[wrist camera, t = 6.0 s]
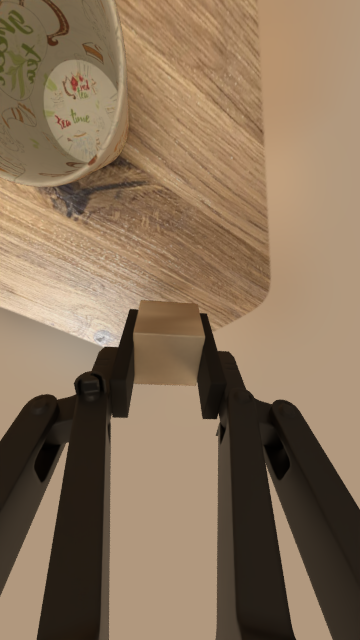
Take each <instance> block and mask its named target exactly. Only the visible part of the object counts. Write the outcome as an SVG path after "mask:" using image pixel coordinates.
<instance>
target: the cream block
mask: <svg viewBox="0 0 360 640" xmlns="http://www.w3.org/2000/svg"><path fill="white" fill-rule="evenodd" d="M204 341H205V334H204V330H203V325H202V321H201V317H200V313H199V308H198V304H193V303H177V302H162V301H147V300H141V302H140V306H139V310H138V314H137V319H136V323H135V327H134V332H133V342H134V373H135V377H134V383H135V384H155V385H186V386H187V385H188V386H196V383H197V376H198V371H199V365H200V360H201V355H202V349H203V345H204Z"/></svg>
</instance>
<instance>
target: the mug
mask: <svg viewBox="0 0 360 640" xmlns="http://www.w3.org/2000/svg"><path fill="white" fill-rule="evenodd" d="M128 129H129V113H128V85H127V64H126V53H125V46H124V40H123V33H122V28H121V24H120V19H119V15H118V11H117V7H116V3H115V0H0V178H3V179H5V180H8V181H11V182H14V183H17V184H22V185H26V186H34V187H53V186H60V185H65V184H68V183H71V182H74V181H77V180H79V179H81V178H83V177H85V176H87V175H89V174H91V173H93V172H95V171H96V170H98V169H100V168H102V167H104V166H106V165H108V164H110V163H111V162H112V161H114V160H115V159H116V158H117V157H118V156H119V154H120V153H121V151H122V150H123V148H124V145H125V143H126V140H127V135H128Z"/></svg>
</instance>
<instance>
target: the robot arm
mask: <svg viewBox="0 0 360 640" xmlns="http://www.w3.org/2000/svg"><path fill="white" fill-rule="evenodd" d="M137 314H138V310H136V309H130V310H129V314H128V317H127V320H126V324H125V327H124V330H123V334H122V337H121V341H120V344H119V347H104V348H103V349H102V350H101V351H100V352H99V354H98V356H97V359H96V361H95V364H94V366H93V369H92V371H89V372H85V373H83V374H82V375H80V376H79V377H78V378H77V379H76V380H75V382H74V386H75V390H76V395H74V396H71V397H68V398H63V399H58V400H57V399H56V398H55V397H54V396H53V395H49V394H46V395H40V396H37V397H35V398H33V399H31V400H30V401H29V402H28V403H27V404H26V405H25V406H24V407H23V409H22V410H21V412H20V413H19V415H18V416H17V418H16V419H15V421H14V422H13V423H12V425H11V426H10V428H9V429H8V431H7V432H6V434H5V435H4V436H3V438H2V439H1V441H0V595H1V593H2V591H3V588H4V586H5V584H6V581H7V579H8V577H9V574H10V572H11V570H12V567H13V565H14V563H15V561H16V558H17V556H18V553H19V551H20V549H21V547H22V544H23V542H24V540H25V537H26V535H27V533H28V530H29V528H30V526H31V523H32V521H33V519H34V516H35V514H36V512H37V509H38V507H39V505H40V502H41V500H42V497H43V495H44V493H45V491H46V488H47V486H48V484H49V481H50V479H51V477H52V475H53V472H54V470H55V467H56V465H57V463H58V461H59V458H60V456H61V453H62V451H63V449H64V447H65V444H66V443H67V442H69V446H68V452H67V458H66V465H65V470H64V477H63V483H62V489H61V495H60V501H59V507H58V513H57V519H56V525H55V531H54V537H53V543H52V549H51V556H50V562H49V568H48V574H47V580H46V586H45V592H44V598H43V604H42V611H41V616H40V622H39V628H38V635H37V640H109V557H110V556H109V555H110V554H109V553H110V454H111V453H110V452H111V423H110V419H111V415H113V417H119V418H120V417H121V418H127V417H128V413H129V407H130V400H131V395H132V389H133V383H134V377H135V373H134V342H133V332H134V327H135V323H136V319H137ZM200 317H201V321H202V325H203V330H204V334H205V341H204V345H203V349H202V355H201V360H200V365H199V371H198V376H197V383H198V389H199V396H200V403H201V410H202V417H203V419H217V416H218V413H219V417H220V423H219V426H218V430H217V433H216V436H218V542H217V545H218V546H217V550H218V551H217V631H216V640H296V638H295V636H294V633H293V629H292V624H291V619H290V613H289V607H288V601H287V595H286V588H285V582H284V576H283V570H282V564H281V557H280V551H279V545H278V539H277V532H276V526H275V520H274V514H273V508H272V501H271V495H270V489H269V483H268V477H267V471H266V465H267V468H268V471H269V473H270V476H271V478H272V481H273V484H274V486H275V489H276V492H277V494H278V497H279V500H280V502H281V505H282V508H283V510H284V512H285V515H286V518H287V521H288V523H289V526H290V529H291V531H292V534H293V536H294V539H295V542H296V544H297V547H298V549H299V552H300V555H301V557H302V560H303V563H304V565H305V568H306V571H307V573H308V576H309V578H310V581H311V584H312V586H313V589H314V591H315V594H316V597H317V600H318V602H319V605H320V607H321V610H322V613H323V615H324V618H325V621H326V623H327V626H328V628H329V631H330V634H331V636H332V639H333V640H360V509H359V508H358V506H357V504H356V503H355V501H354V499H353V498H352V496H351V494H350V493H349V491H348V490H347V488H346V486H345V485H344V483H343V481H342V480H341V478H340V476H339V475H338V474H337V472H336V470H335V468H334V467H333V465H332V463H331V462H330V460H329V458H328V457H327V455H326V454H325V452H324V450H323V449H322V447H321V445H320V444H319V442H318V440H317V439H316V437H315V436H314V434H313V432H312V431H311V429H310V427H309V426H308V424H307V422H306V421H305V419H304V418H303V416H302V414H301V413H300V411H299V410H298V409H297V407H296V406H295V405H293V404H292V403H290V402H288V401H285V400H276V401H275V402H273V404H269V403H265V402H262V401H259V400H257V399H255V398H254V396H253V395H252V394H251V393H250V392H249V391H248V390H246V388H245V386H244V383H243V380H242V377H241V375H240V372H239V370H238V366H237V365H236V361H235V359H234V357H233V356H232V355H231V353H229V352H226V351H225V352H224V351H217V348H216V344H215V340H214V337H213V333H212V330H211V327H210V323H209V320H208V316H207V314H205V313H200ZM265 463H266V464H265Z"/></svg>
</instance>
